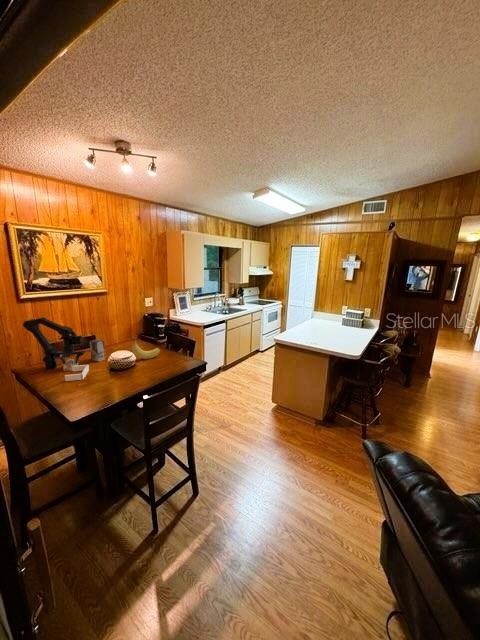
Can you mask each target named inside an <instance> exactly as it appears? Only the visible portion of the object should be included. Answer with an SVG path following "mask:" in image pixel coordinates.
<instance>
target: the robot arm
mask: <svg viewBox="0 0 480 640" xmlns="http://www.w3.org/2000/svg"><path fill="white" fill-rule="evenodd" d="M40 325H42V326H45V327H46V328H49V329H51V330H54V331H55V332H57V333H58V335H60V336H61V337H60V338H59V340H62V343H63V350H62V351H60V350H59V349H58V348H57V346H56V345H54V346H53V345H51V344H50V342H49V340H48V339H47V338H46V337H45V335H44V334H43V332H42V331H41V330H40ZM22 326H23V328H24V329H26V331H28V332H30V333H32V335H33V336H34V338H35V339H36V341H37V342H38V344H40V346H41V347H42V349H43V352H44V357H43V358H42V361H43V362H44V364H45V366H44V367H45V368H44V370H51V369H52V370H53V369H56V368H57V367H58V365H59V364H58V361H57V359H60V361H62V364H63V365H64V364H65V362H66V358H70V357H72V356H74V355H75V359H76V364H77V363H78V364H79V359H80V357H82V356H84V354H85V350H84V349H79V350H76V351H75V349H74V346H78V345H79V346H82V345H84V344H85V338H84V337H83V335H77V334H76V332H75V331H74V330H73V328H72V327H69V326H66V325H61V324H58V323H56V322H54V321H52V320H50V319H47V318H46V317H43V316H42V317H39V318H35V319H34V318H30V319H28V320H25V321H23V324H22Z"/></svg>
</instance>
